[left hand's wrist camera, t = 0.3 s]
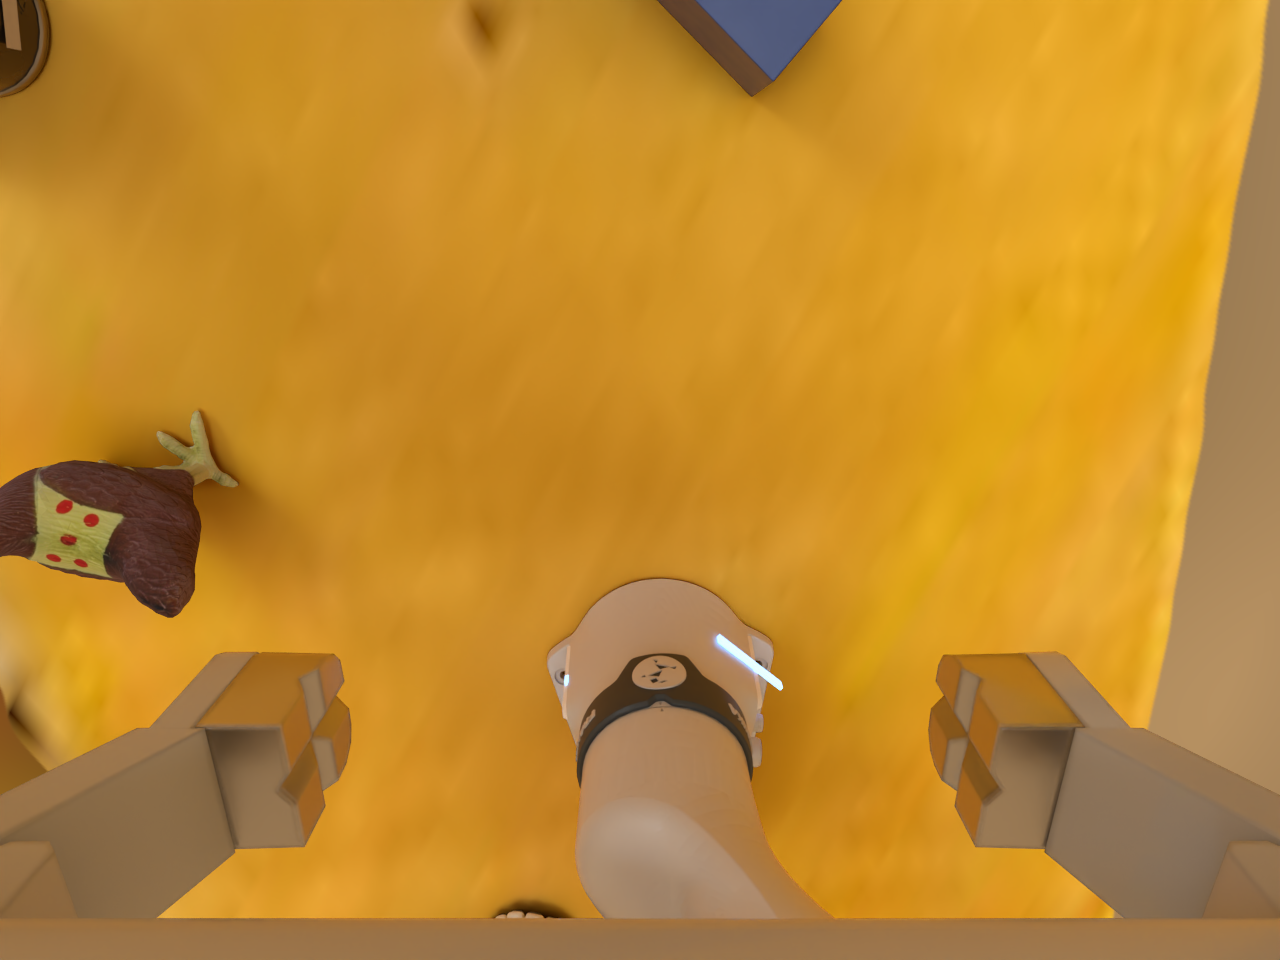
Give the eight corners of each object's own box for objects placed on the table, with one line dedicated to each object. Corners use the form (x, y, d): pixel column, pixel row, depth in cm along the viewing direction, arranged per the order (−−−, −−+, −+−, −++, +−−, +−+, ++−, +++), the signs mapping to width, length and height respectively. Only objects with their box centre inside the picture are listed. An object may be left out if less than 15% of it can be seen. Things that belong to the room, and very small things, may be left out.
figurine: (78, 395, 57) (-198, 503, 38) (280, 418, 57) (107, 534, 39) (98, 529, 60) (-143, 686, 42) (287, 549, 61) (133, 712, 42)
